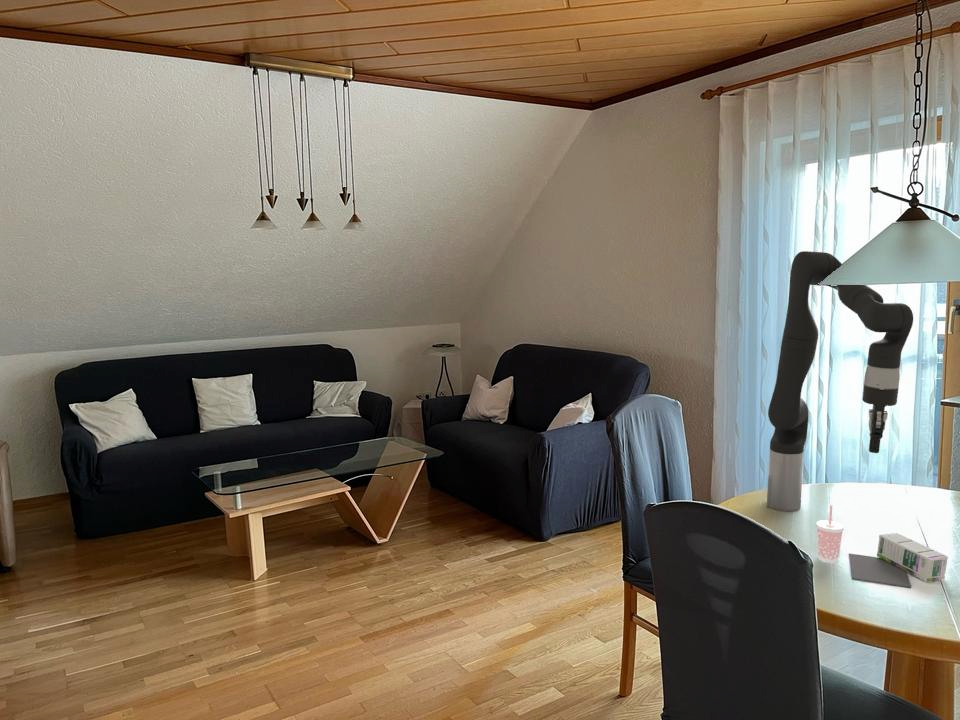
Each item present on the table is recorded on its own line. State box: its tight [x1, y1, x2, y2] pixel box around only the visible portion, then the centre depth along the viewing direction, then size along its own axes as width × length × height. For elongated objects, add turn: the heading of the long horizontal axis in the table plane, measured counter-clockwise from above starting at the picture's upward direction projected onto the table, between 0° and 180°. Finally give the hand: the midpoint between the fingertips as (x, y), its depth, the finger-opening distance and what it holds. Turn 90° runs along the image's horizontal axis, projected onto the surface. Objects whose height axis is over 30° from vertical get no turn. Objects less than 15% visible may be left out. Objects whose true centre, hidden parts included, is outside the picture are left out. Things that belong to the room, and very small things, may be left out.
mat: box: [848, 553, 912, 589], centre depth 176 cm, size 12×15×1 cm
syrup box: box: [876, 532, 949, 583], centre depth 176 cm, size 6×6×14 cm
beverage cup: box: [816, 504, 845, 564], centre depth 181 cm, size 6×6×14 cm
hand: (873, 452), depth 184 cm, fingers closed
